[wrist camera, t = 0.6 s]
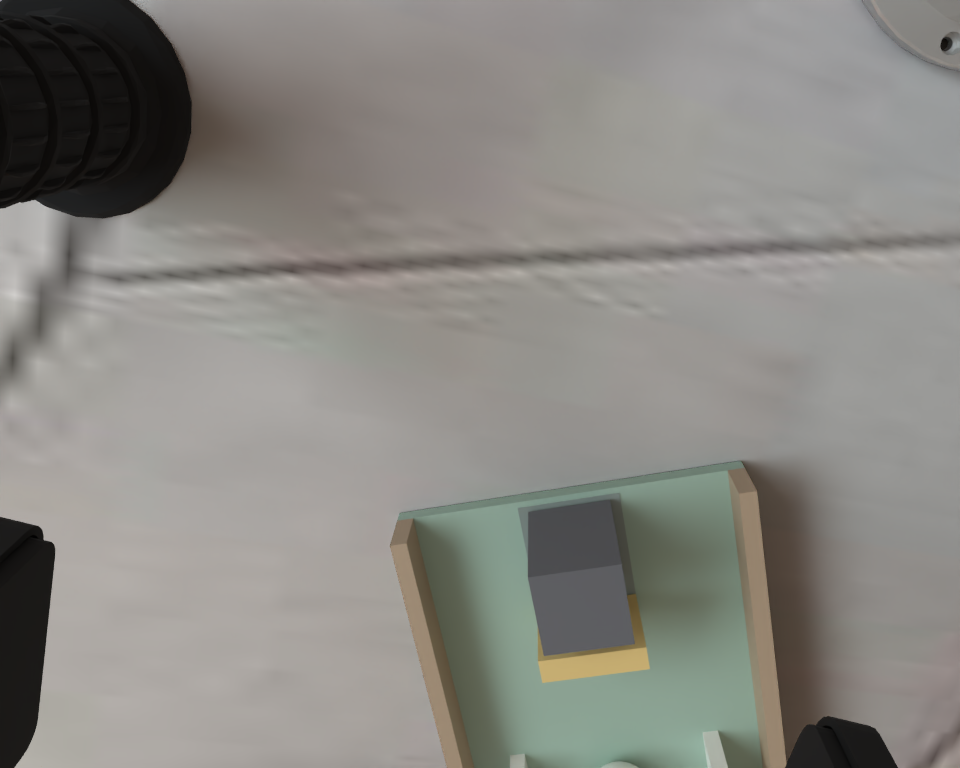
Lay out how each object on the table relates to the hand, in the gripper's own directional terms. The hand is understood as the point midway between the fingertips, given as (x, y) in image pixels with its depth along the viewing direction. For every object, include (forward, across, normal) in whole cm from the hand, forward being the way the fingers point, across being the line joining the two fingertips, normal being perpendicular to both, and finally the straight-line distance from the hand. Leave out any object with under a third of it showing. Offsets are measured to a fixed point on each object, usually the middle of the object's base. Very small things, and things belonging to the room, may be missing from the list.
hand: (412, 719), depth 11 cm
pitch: (+32, -11, +20) cm, 39 cm away
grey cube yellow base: (+31, -8, +14) cm, 35 cm away
